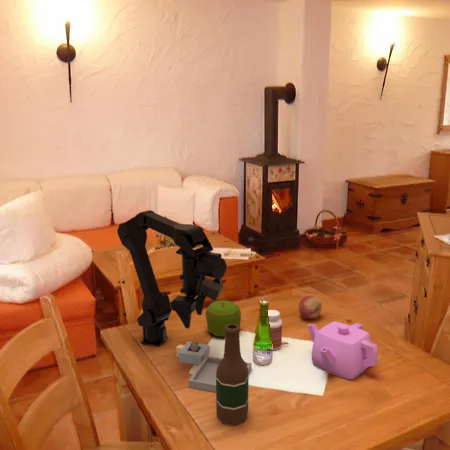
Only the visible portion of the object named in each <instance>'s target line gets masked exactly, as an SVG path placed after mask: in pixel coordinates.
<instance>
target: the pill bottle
mask: <svg viewBox="0 0 450 450" xmlns="http://www.w3.org/2000/svg"><path fill="white" fill-rule="evenodd" d="M267 310H268V316H269V324H270V330H271V337H272V344H273V350H272V351H276V350H279V349H280V348H281V347H282V340H283V331H282V330H283V322H282V320H281V313H280V311H278V310H276V309H267Z"/></svg>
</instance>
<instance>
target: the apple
mask: <svg viewBox="0 0 450 450" xmlns="http://www.w3.org/2000/svg"><path fill="white" fill-rule="evenodd" d="M205 319H206V324H207V325H206V326H207V330H208V332H210V333H211V334H213V335H214V336H215V337H220V338H225V331H224V329H225V327H226V325H229V324H236V325H238V326H239V327H240V325H241V320H242V312H241V309H240V307H239V305H238V304H236V303H235V302H233V301H230V300H215V301H213V302H211V303H210V304H209V305H208V306H207V308H206V312H205Z"/></svg>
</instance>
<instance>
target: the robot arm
mask: <svg viewBox="0 0 450 450" xmlns="http://www.w3.org/2000/svg"><path fill="white" fill-rule="evenodd" d="M149 229H151V230H153V231H155V232H156V233H159V234H161V235H163V236H166V237H168V238H170V239H171V240H173V243H174V245H175V246H177V247H179V248H178V250H176V251H175V253H176V255H181V272H182V273H181V274H180V275H179V279H180V280H182V287H181V288H180V289H179V291H180V292H179V293H180V294H184V295H176V296H175V298H173V300H172V301H170V298H169V295H168V294H164V293H163V292H162V291H161V290H160V287H159V284H158V282H157V278H156V276H155V275H156V274H155V273H154V270H153V266H152V263H151V260H150V256H149V254H148V250H147V247H146V245H147V239H148V233H147V230H149ZM116 231H117V237H118V238H119V240H120V242H121V244H122V246H123V247H125V249H126V250H128V252H129V253H130V256H131V259H132V263H133V266H134V269H135V272H136V276H137V278H138V282H139V284H140V288H141V290H142V295H143V298H142V302H141V308H142V313H141V314H140V316H138V318H136V319H137V323H138V326H139V327H142V336H143V337H142V338H143V339H142V340H141V341H140V344H143V345H147V346H148V345H149V346H153V347H154V346H155V347H160V346H162V344H163V343H164V342H165V341H166V340H167V339H168V335H167V334H168V333H167V327H166V323H165V322H166V321H168V320H169V319H170V316H171V315H172V311H173V312H175V313H176V315H177V316H178V317H179V319H180V321H181V322H182V324H183V327H184V328H185V329H188V330H189V329H190V327H191V321H192V313H193V312H195V311H196V314H197V316H201V315H202V313H203V309H204V306H205V303H206V302H205V301H206V298H208V299H210V300H211V301H217V300H218V298H219V297H220V296H221V294H222V290H223V289H224V284H223V277H224V276H225V274H226V271H227V268H228V267H227V262H226V260H225V259H224V258H222V254H221V253H218V252H213V251H214V248H213V246H212V243H211V242H210V241H209V240H210V239H208V236H207V234H206V233H205V231H204V228H203V227H202V226H200V225H197V224H196V225H195V224H189V223H188V224H187V223H179V222H177V221H175V220H172V219H170V218H168V217H166V216H164V215H161V214H158V213H156V212H155V211H153V210H150V209H149V210H148V209H147V210H145V211H140V212H138V213H137V214H135V216H132V218H130V219H128V220H126V221H125V222H121V223H120V224H119V225H118V228H117V229H116ZM200 246H201V247H200ZM195 248H196V249H195ZM207 277H209V278H207Z"/></svg>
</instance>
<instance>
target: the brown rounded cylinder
mask: <svg viewBox="0 0 450 450" xmlns="http://www.w3.org/2000/svg"><path fill="white" fill-rule="evenodd" d="M198 343H199V342H195V341H193V343H191V351H193V352H198Z"/></svg>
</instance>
